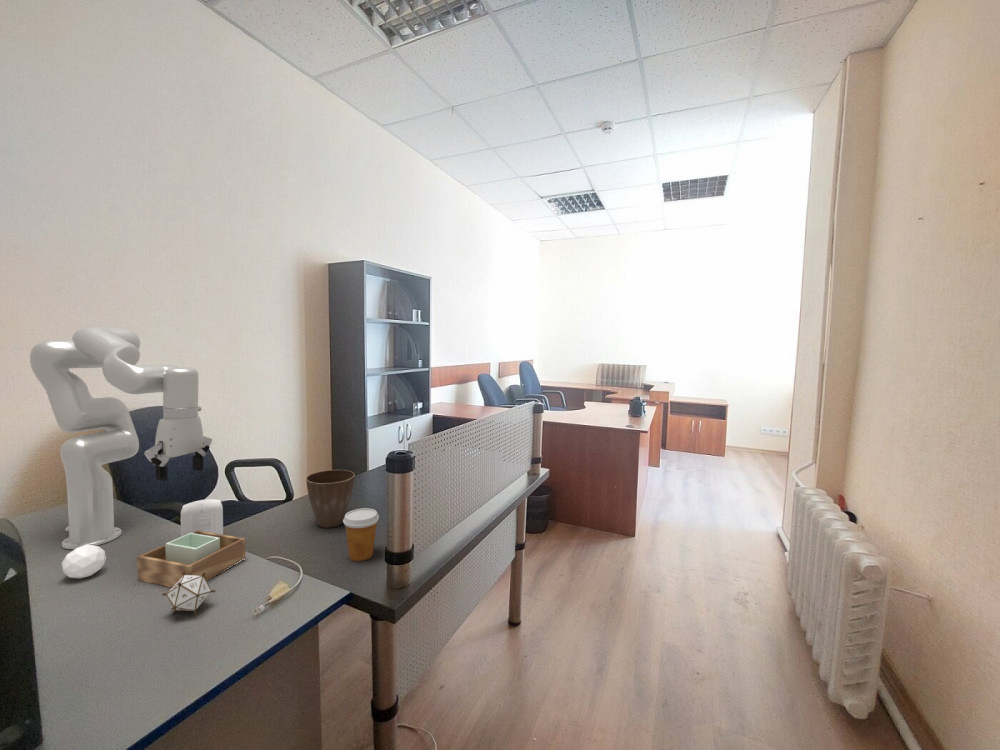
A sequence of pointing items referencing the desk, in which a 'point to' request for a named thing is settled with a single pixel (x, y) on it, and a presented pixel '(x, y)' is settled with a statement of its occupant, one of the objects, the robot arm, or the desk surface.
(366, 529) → the disposable coffee cup
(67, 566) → the geometric ball
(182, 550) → the box
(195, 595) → the game die
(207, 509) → the photo printer
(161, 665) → the desk surface
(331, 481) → the plant pot
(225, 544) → the big crate
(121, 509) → the desk surface
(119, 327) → the robot arm
